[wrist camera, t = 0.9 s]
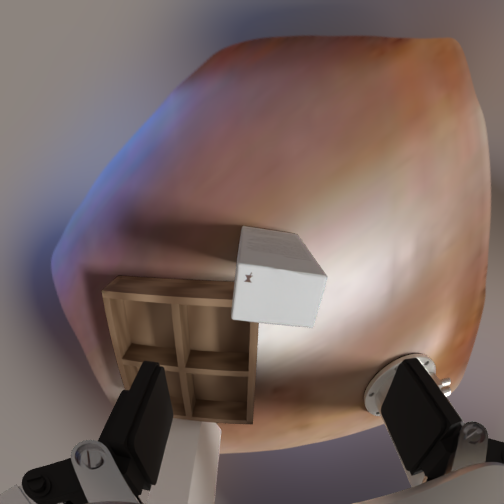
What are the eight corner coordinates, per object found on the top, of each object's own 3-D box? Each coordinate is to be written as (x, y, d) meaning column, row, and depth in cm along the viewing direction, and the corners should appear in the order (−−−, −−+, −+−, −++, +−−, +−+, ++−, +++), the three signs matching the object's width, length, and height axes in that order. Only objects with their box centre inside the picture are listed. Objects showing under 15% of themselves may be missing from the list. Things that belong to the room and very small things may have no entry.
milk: (170, 413, 37) (136, 534, 16) (204, 407, 37) (181, 540, 15) (190, 435, 39) (167, 548, 18) (222, 430, 38) (210, 552, 17)
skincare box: (236, 263, 30) (227, 320, 19) (242, 224, 29) (235, 261, 18) (292, 271, 31) (314, 330, 19) (299, 233, 29) (329, 274, 18)
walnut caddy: (258, 282, 31) (259, 300, 27) (252, 401, 36) (252, 424, 32) (118, 275, 31) (101, 290, 26) (141, 390, 36) (132, 411, 32)
